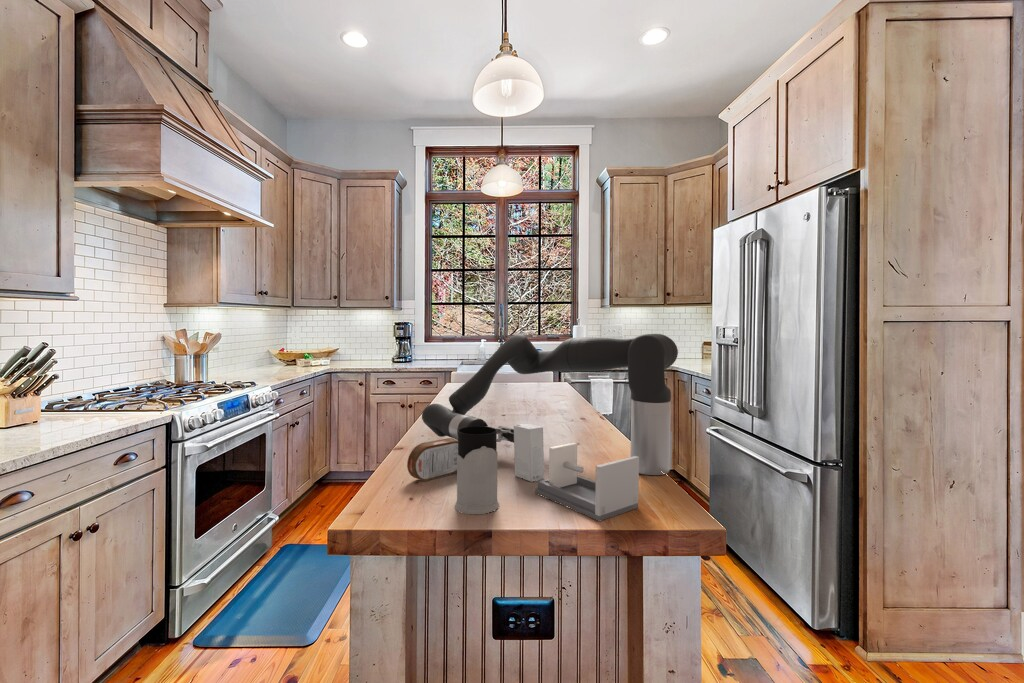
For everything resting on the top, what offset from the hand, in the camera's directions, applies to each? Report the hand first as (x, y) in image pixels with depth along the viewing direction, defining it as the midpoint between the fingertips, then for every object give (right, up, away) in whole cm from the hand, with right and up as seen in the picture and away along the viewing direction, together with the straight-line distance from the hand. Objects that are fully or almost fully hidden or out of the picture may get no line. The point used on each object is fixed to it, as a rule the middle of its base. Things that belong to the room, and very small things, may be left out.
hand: (503, 441), depth 122 cm
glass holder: (-6, -8, -23) cm, 25 cm away
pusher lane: (+17, -8, -22) cm, 28 cm away
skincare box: (+6, -7, -7) cm, 12 cm away
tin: (-15, -7, -7) cm, 18 cm away
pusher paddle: (+14, -6, -19) cm, 24 cm away
